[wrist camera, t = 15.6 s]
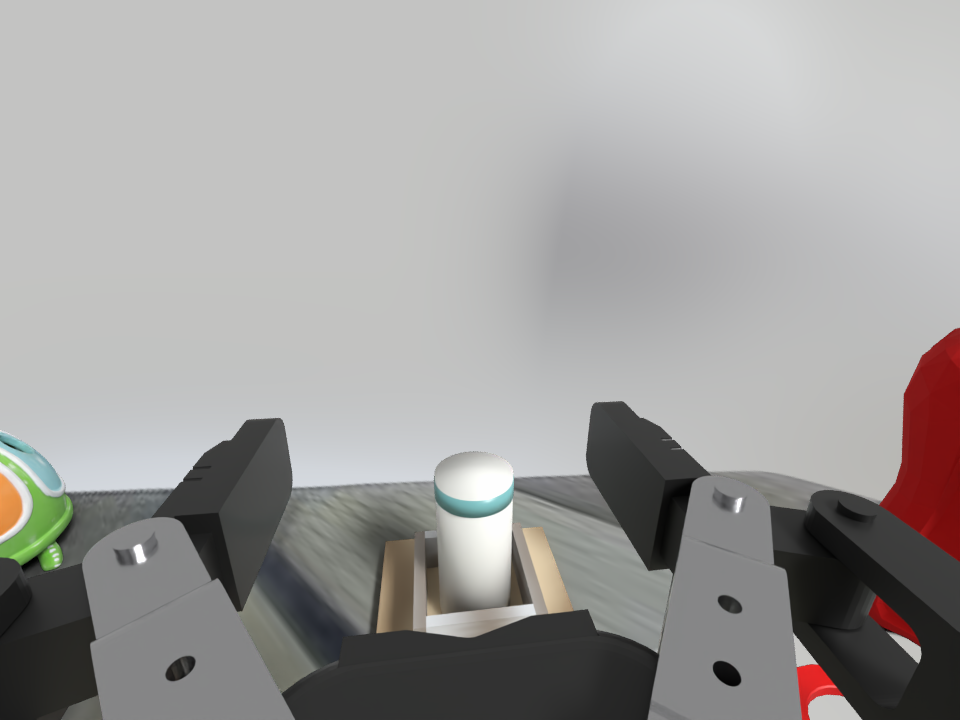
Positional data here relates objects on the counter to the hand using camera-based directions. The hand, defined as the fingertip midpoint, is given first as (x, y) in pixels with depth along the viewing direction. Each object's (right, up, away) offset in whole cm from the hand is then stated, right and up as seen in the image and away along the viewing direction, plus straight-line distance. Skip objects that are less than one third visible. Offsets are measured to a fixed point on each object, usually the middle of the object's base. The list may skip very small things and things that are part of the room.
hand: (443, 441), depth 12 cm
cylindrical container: (+1, -16, +21) cm, 26 cm away
